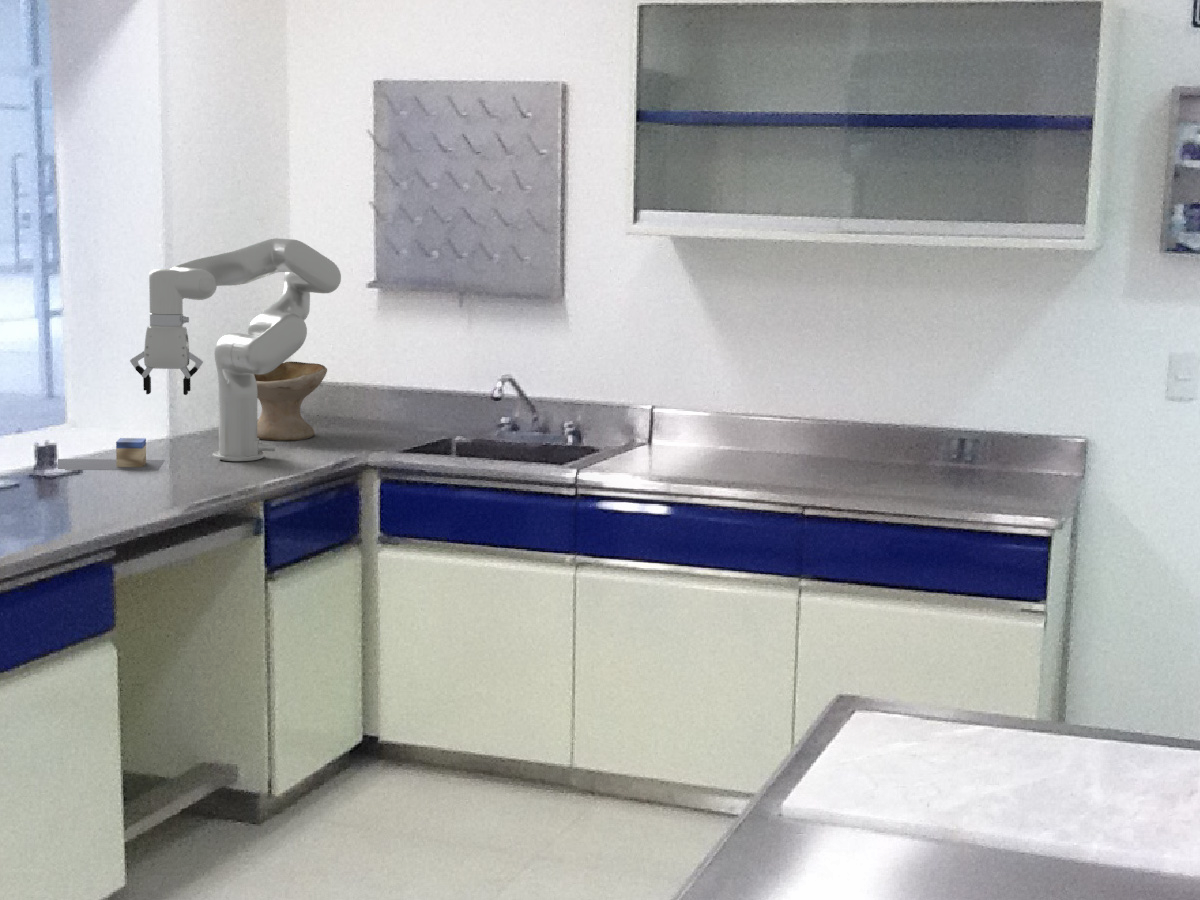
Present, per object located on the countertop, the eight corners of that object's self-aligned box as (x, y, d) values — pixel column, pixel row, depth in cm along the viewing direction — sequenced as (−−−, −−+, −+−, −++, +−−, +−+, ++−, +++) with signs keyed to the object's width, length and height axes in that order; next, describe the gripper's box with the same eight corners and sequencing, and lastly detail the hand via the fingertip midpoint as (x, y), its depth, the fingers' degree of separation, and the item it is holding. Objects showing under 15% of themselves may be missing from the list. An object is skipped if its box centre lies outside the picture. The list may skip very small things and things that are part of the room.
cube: (146, 462, 338) (145, 438, 337) (142, 467, 333) (142, 442, 332) (120, 462, 337) (120, 438, 336) (116, 466, 331) (116, 442, 330)
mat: (165, 461, 343) (165, 459, 343) (157, 472, 329) (157, 470, 329) (54, 460, 338) (54, 458, 338) (42, 471, 325) (42, 469, 325)
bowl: (226, 430, 396) (226, 360, 392) (314, 428, 406) (314, 360, 403) (244, 444, 373) (244, 370, 370) (336, 442, 383) (336, 370, 380)
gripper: (205, 321, 336) (206, 392, 339) (130, 319, 333) (131, 391, 336) (202, 323, 329) (202, 396, 332) (125, 321, 326) (127, 395, 328)
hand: (167, 393), depth 334 cm, fingers open, 8 cm apart
